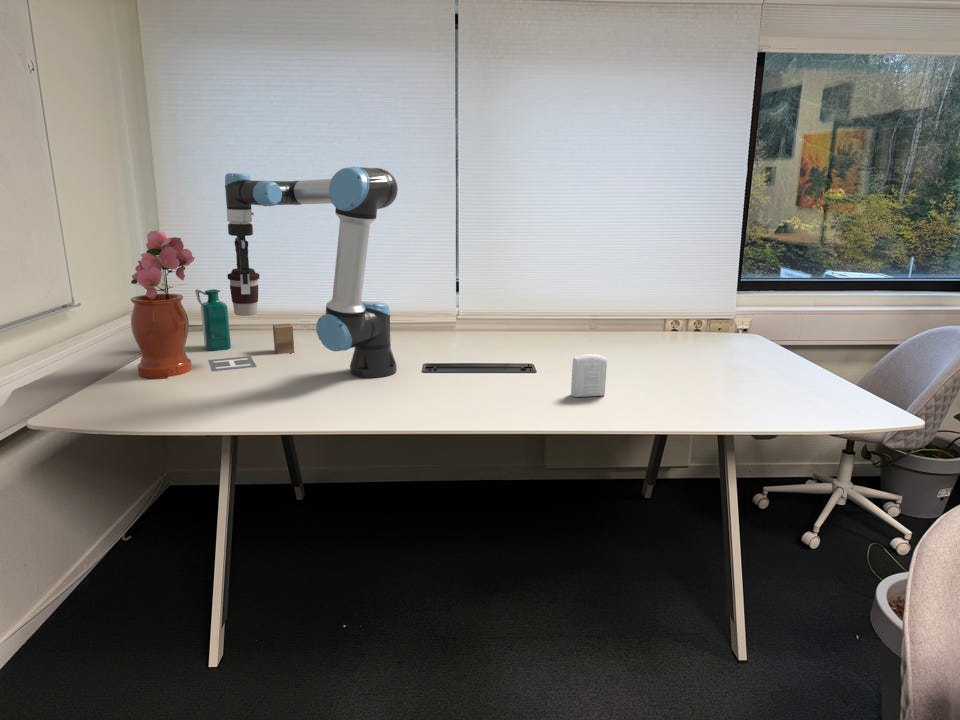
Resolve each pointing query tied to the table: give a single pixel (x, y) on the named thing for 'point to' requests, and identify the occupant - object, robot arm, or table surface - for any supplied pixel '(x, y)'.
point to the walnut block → (283, 338)
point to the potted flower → (161, 309)
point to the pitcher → (214, 321)
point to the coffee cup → (244, 302)
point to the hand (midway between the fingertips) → (244, 291)
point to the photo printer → (588, 375)
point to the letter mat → (231, 363)
